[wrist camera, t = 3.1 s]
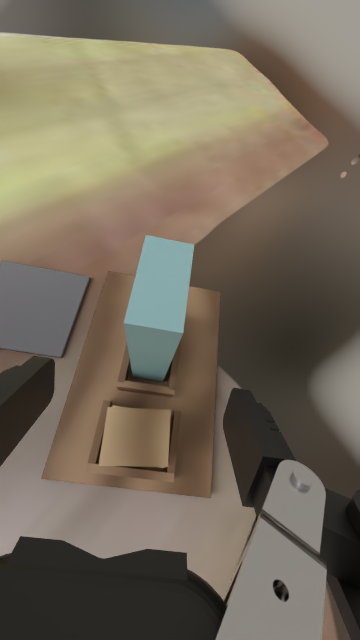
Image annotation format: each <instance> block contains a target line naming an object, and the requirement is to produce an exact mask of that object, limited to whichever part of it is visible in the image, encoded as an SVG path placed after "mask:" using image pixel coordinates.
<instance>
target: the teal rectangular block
mask: <svg viewBox="0 0 360 640" xmlns="http://www.w3.org/2000/svg"><path fill="white" fill-rule="evenodd" d="M193 250H194V245H193V244H188V243H183V242H178V241H173V240H168V239H163V238H158V237H153V236H148V235H146V237H145V241H144V245H143V249H142V253H141V257H140V261H139V264H138V268H137V272H136V276H135V280H134V284H133V288H132V292H131V296H130V300H129V304H128V308H127V312H126V316H125V320H124V328H125V334H126V340H127V346H128V352H129V357H130V363H131V369H132V375H133V377H134V378H140V379H147V380H154V381H160V382H163V380H164V378H165V375H166V373H167V370H168V368H169V366H170V363H171V361H172V359H173V356H174V354H175V351H176V349H177V347H178V344H179V342H180V340H181V337H182V335H183V331H184V323H185V314H186V306H187V298H188V290H189V282H190V274H191V265H192V258H193Z"/></svg>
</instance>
